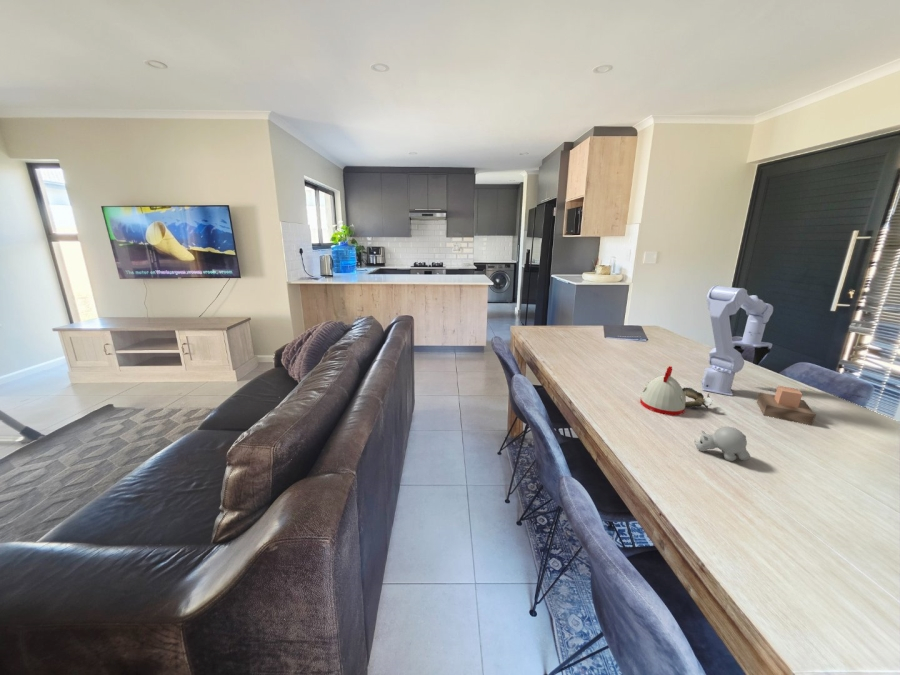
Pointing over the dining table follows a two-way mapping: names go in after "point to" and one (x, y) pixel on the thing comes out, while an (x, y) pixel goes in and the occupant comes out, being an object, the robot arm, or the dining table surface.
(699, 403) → the eagle figurine
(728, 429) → the round bodied animal figurine
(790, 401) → the terracotta cube
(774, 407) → the walnut plinth
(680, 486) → the dining table surface
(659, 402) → the chicken-shaped dome
